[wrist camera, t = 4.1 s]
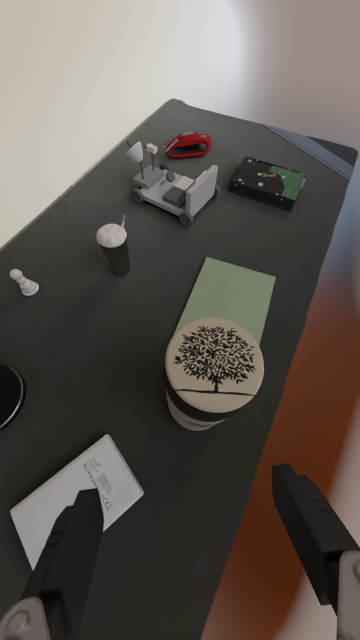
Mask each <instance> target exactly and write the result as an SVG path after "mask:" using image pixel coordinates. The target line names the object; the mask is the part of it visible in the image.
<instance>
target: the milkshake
mask: <svg viewBox="0 0 360 640" xmlns="http://www.w3.org/2000/svg"><path fill="white" fill-rule="evenodd" d="M124 223H125V215H124V214H123V221H122V227H121V226H119V225H117V224H107V225H105V226H103V227H101V228H100V229H99V230H98V231H97V234H96V238H97V241H98V243H99V245H100V247H101V249H102V251H103V252H104V254H105V256H106V258H107V260H108V262H109V264H110V266H111V268H112V270H113V272H114V274H115V275H118V276H124V275H126V274H127V273H129V271H130V260H129V253H128V245H127V234H126V231H125V229H124Z"/></svg>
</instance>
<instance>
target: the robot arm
mask: <svg viewBox="0 0 360 640" xmlns="http://www.w3.org/2000/svg"><path fill="white" fill-rule="evenodd" d="M0 362H2V361H0ZM25 395H26V386H25V382H24V379H23V377H22V376H21V375H20V373H18V372H17V371H16V370H14V369H12V368H10V367H8V366H5V365H2V364H0V430H2V429H3V428H5V427H6V426H7V425H8V424H10V423H11V422H12V421H13V420H14V418H15V417H16V416H17V414H18V413H19V411H20V410H21V408H22V406H23V403H24V400H25ZM272 492H273V498H274V502H275V505H276V508H277V510H278V512H279V515H280V517H281V519H282V521H283V524H284V525H285V528H286V530H287V532H288V534H289V537H290V539H291V541H292V543H293V545H294V548H295V550H296V552H297V554H298V556H299V558H300V561H301V563H302V565H303V567H304V569H305V572H306V574H307V576H308V578H309V580H310V583H311V585H312V587H313V589H314V591H315V593H316V595H317V598H318V600H319V602H320V604H321V605H329V604H331V605H332V607H333V609H334V611H335V613H336V616H337V640H360V547H359V546H358V545H357V543H356V542H355V540H354V539H353V537H352V536H351V535H350V533H349V532H348V530H347V529H346V527H345V526H344V524H343V523H342V521H341V520H340V519H339V517H338V516H337V514H336V513H335V511H334V510H333V509H332V508H331V506H330V504H329V503H328V501H327V500H326V498H324V496H323V494H322V493H321V491H320V490H319V488H318V487H317V485H316V484H315V483H314V482H312V481H311V480H310V479H309V478H308V477H306V476H305V475H300V476H297V474H296V473H295V471H294V469H293V468H292V466H291V465H290V464H289V463H287V464H279V465H272ZM103 527H104V514H103V509H102V504H101V500H100V495H99V490H98V488H93V489H85V490H80V491H79V492H78V494H77V497H76V499H75V502H74V504H73V505H71V506H66V507H65V508H64V510H63V511H62V512H61V513H60V515H59V516H58V517H57V518H56V521H55V523H54V525H53V527H52V530H51V532H50V535H49V536H48V539H47V541H46V543H45V547H44V548H43V550H42V552H41V555H40V557H39V559H38V561H37V564H36V566H35V568H34V570H33V573H32V575H31V577H30V580H29V582H28V584H27V586H26V589H25V591H24V593H23V595H22V597H21V599H20V601H19V602H17V603H16V604H15V605H14V606H12V607H11V608H10V609H9V610H8V611H7V612H6V614H5V615H4V616H3V617H2V619H1V620H0V640H77V636H78V632H79V628H80V624H81V620H82V616H83V612H84V608H85V603H86V599H87V595H88V591H89V587H90V583H91V579H92V575H93V570H94V566H95V562H96V558H97V554H98V550H99V546H100V542H101V537H102V533H103Z"/></svg>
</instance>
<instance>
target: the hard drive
mask: <svg viewBox="0 0 360 640" xmlns="http://www.w3.org/2000/svg"><path fill="white" fill-rule="evenodd" d="M93 488H98V490H99V495H100V500H101V504H102V509H103V514H104V527H103V532H104V531H105V530H106V529H107V528H108V527H109V526H110V525H111V524H112V523H113V522H114V521H115V520H117V519H118V518H119V517H120V516H121V515H122V514H123V513H124V512H125V511H126V510H127V509H128V508H129V507H130V506H132V505H133V504H134V503H135V502H136V501H137V500H138V499H139V498H140V497H141V496H142V495H143V494H144V491H143V489H142V487H141V486H140V484H139V483H138V481H137V479H136V478H135V476H134V474H133V473H132V471H131V469H130V468H129V466H128V465H127V463H126V461H125V460H124V458H123V456H122V455H121V453H120V451H119V450H118V448H117V447H116V445H115V443H114V442H113V440H112V438H111V437H110V436H109V434H106V435H105V436H104V437H102V438H101V439H100V440H99V441H97V442H96V443H95V444H93V445H92V446H91V447H90V448H88V449H87V450H86V451H84V452H83V453H82V454H81V455H79V456H78V457H77V458H76V459H74V460H73V461H72V462H70V463H69V464H68V465H67V466H65V467H64V468H63V469H62V470H60V471H59V472H58V473H57V474H55V475H54V476H53V477H51V478H50V479H49V480H48V481H46V482H45V483H44V484H43V485H41V486H40V487H39V488H38V489H36V490H35V491H34V492H32V493H31V494H30V495H29V496H28V497H26V498H25V499H24V500H22V501H21V502H20V503H19V504H17V505H16V506H15V507H14V508H12V509H11V510H10V513H11V517H12V519H13V522H14V524H15V527H16V529H17V532H18V534H19V537H20V539H21V542H22V544H23V547H24V549H25V552H26V555H27V557H28V560H29V562H30V565H31V568H32V570H34V568H35V566H36V564H37V561H38V559H39V557H40V555H41V552H42V550H43V548H44V547H45V543H46V541H47V539H48V536H49V535H50V532H51V530H52V527H53V525H54V523H55V521H56V518H57V517H58V516H59V515H60V513H61V512H62V511H63V510H64V508H65V507H66V506H71V505H73V504H74V502H75V499H76V497H77V494H78V492H79V491H80V490H85V489H93Z"/></svg>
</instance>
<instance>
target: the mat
mask: <svg viewBox="0 0 360 640" xmlns="http://www.w3.org/2000/svg"><path fill="white" fill-rule="evenodd" d="M275 278H276V277H273V276H270V275H266V274H263V273H260V272H256V271H253V270H249V269H246V268H243V267H239V266H236V265H233V264H229V263H226V262H222V261H219V260H216V259H212V258H209V257H206V259H205V262H204V264H203V266H202V269H201V271H200V274H199V276H198V278H197V281H196V283H195V285H194V288H193V290H192V293H191V295H190V297H189V300H188V302H187V304H186V307H185V309H184V312H183V314H182V316H181V319H180V321H179V323H178V326H177V328H176V330H175V333H176V332H177V331H178V330H179V329H180V328H181V327H182V326H184V325H185V324H187V323H189V322H191V321H193V320H196V319H199V318H204V317H219V318H224V319H227V320H230V321H233V322H235V323H237V324H238V325H240V326H241V327H243V328H244V329H245V330H247V331H248V332H249V333H250V334H251V336H252V337H253V338H254V339H255V341H256V342H257V344H258V346H259V344H260V340H261V336H262V332H263V328H264V324H265V319H266V315H267V311H268V307H269V303H270V299H271V294H272V290H273V286H274V282H275ZM175 333H174V334H175ZM173 336H174V335H173Z"/></svg>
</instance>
